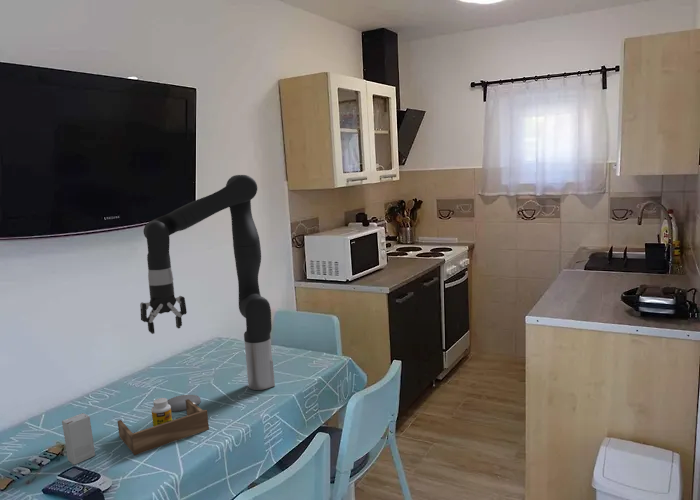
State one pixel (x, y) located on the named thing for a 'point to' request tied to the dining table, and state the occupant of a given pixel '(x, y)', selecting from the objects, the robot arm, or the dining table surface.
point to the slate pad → (182, 402)
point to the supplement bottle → (161, 412)
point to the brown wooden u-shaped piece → (165, 430)
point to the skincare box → (78, 438)
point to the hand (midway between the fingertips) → (165, 330)
